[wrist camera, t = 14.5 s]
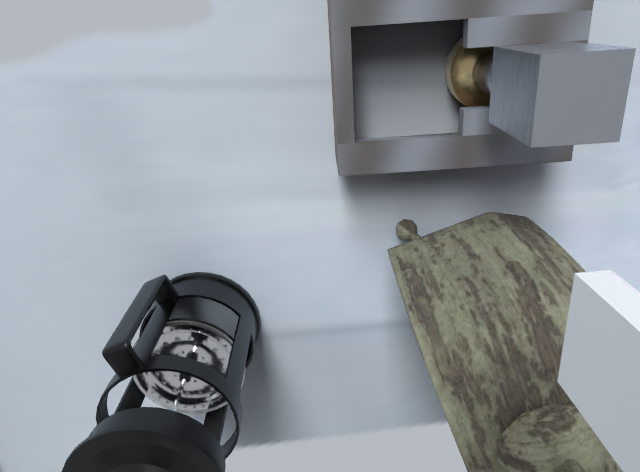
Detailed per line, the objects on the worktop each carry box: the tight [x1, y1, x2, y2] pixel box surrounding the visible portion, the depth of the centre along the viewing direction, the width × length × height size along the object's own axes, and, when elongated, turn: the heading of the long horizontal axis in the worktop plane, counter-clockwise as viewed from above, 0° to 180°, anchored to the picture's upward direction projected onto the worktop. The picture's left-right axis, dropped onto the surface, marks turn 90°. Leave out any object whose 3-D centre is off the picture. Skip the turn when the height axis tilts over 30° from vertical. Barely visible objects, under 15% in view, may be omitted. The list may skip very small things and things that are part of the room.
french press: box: [62, 272, 260, 472], centre depth 32 cm, size 12×9×23 cm
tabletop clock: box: [388, 212, 623, 472], centre depth 30 cm, size 14×9×25 cm, turn 22°
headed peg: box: [445, 37, 636, 148], centre depth 29 cm, size 5×5×14 cm
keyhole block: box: [328, 0, 594, 176], centre depth 33 cm, size 15×11×5 cm
